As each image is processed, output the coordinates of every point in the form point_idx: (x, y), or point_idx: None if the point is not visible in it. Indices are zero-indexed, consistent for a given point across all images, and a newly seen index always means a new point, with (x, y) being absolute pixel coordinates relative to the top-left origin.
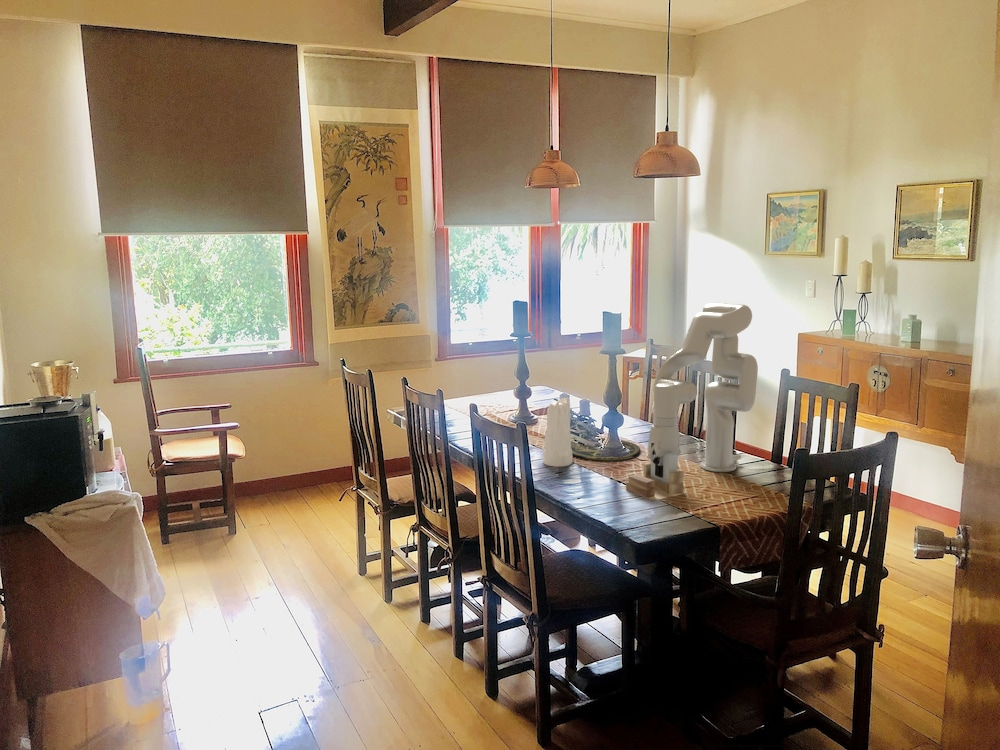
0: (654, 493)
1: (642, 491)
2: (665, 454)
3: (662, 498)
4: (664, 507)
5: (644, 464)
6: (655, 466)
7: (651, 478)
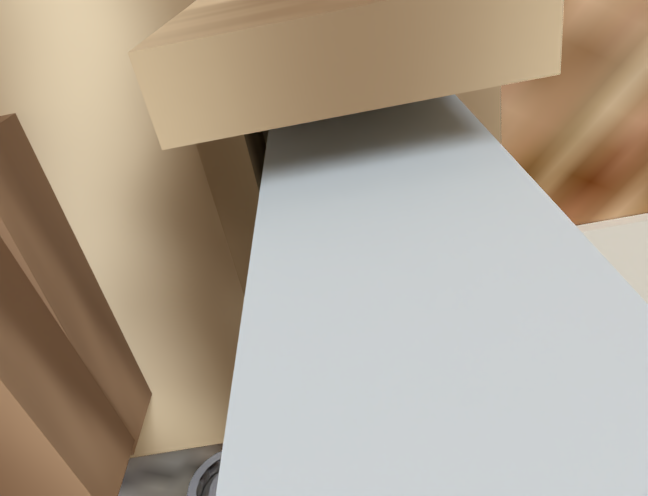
0: (143, 414)
1: None
2: None
3: (196, 446)
4: (167, 492)
5: (138, 72)
6: None
7: (233, 214)
